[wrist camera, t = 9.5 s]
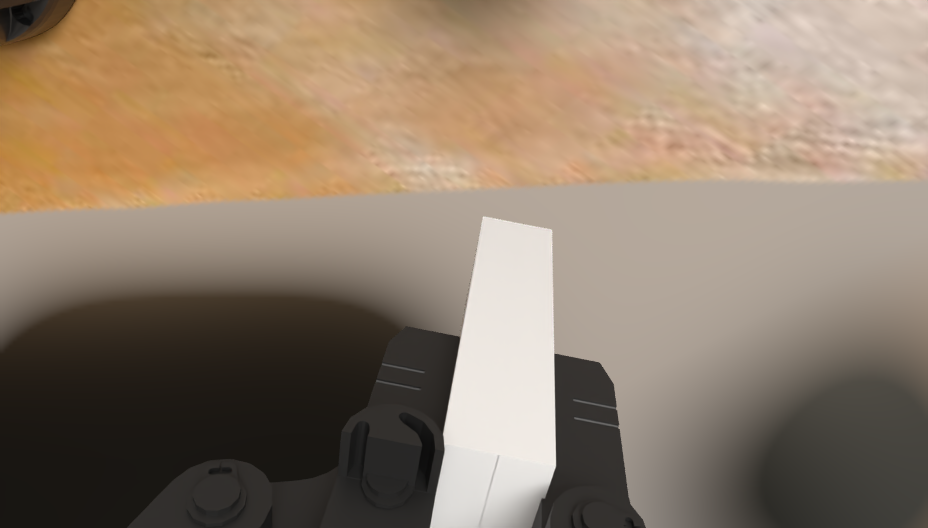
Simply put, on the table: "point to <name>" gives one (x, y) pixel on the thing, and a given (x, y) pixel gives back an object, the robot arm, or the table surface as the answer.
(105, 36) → the table surface
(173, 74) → the table surface
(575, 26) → the table surface
